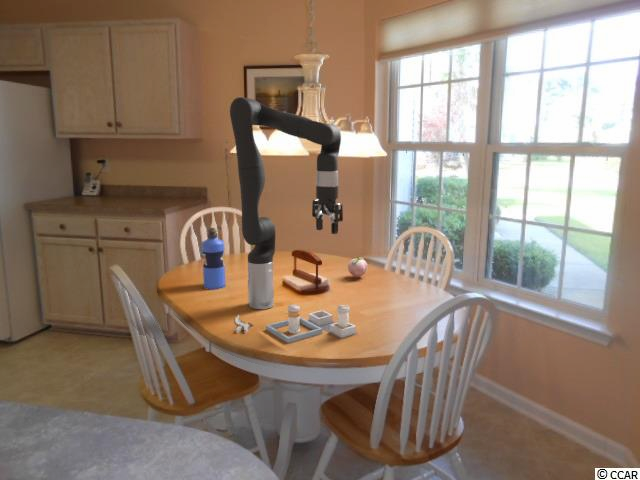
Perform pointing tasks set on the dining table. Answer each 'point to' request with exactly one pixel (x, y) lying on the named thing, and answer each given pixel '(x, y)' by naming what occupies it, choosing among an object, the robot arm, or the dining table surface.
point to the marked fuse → (294, 319)
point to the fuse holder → (331, 324)
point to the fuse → (343, 316)
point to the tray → (315, 331)
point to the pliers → (242, 325)
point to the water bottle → (213, 261)
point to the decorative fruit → (357, 267)
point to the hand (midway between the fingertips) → (326, 231)
